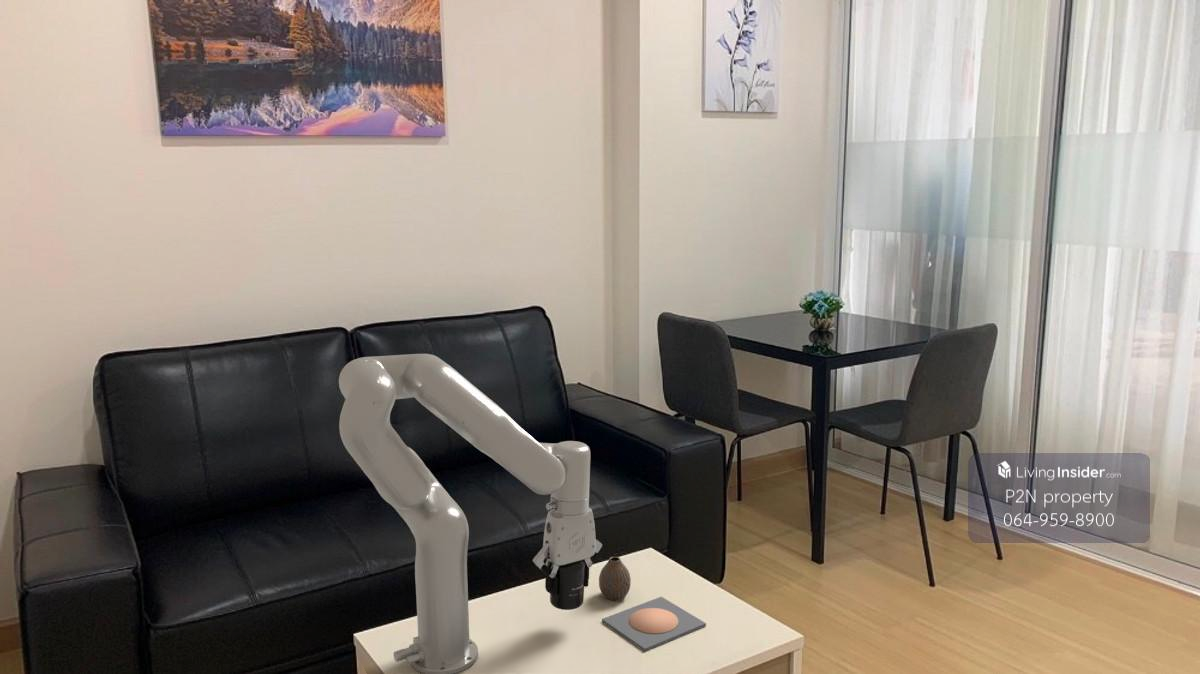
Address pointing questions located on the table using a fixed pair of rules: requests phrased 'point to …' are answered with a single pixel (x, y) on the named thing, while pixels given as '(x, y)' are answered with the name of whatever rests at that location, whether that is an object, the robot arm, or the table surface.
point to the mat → (653, 623)
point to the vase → (614, 580)
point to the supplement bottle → (569, 586)
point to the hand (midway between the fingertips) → (567, 588)
